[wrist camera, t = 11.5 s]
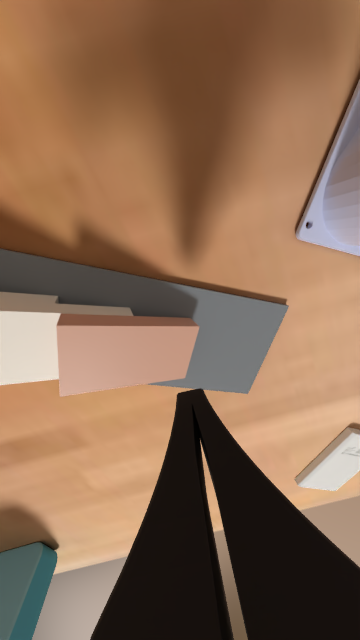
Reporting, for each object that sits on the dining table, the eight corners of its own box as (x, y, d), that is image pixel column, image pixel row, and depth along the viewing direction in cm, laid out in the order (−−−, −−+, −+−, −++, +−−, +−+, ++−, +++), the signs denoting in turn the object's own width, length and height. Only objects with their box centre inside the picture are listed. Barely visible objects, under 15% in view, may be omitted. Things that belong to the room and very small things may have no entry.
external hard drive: (291, 474, 29) (343, 422, 24) (329, 479, 30) (383, 432, 26) (298, 487, 27) (355, 434, 23) (337, 491, 29) (396, 443, 25)
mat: (-202, 208, 10) (-216, 207, 10) (285, 304, 16) (288, 306, 15) (-128, 354, 14) (-136, 357, 13) (246, 390, 19) (247, 393, 19)
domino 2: (190, 317, 15) (60, 313, 11) (199, 326, 13) (56, 325, 9) (177, 366, 17) (63, 378, 12) (184, 378, 15) (60, 396, 11)
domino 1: (129, 307, 14) (-36, 298, 10) (133, 315, 13) (-56, 309, 8) (123, 359, 16) (-18, 370, 12) (126, 371, 14) (-32, 388, 10)
